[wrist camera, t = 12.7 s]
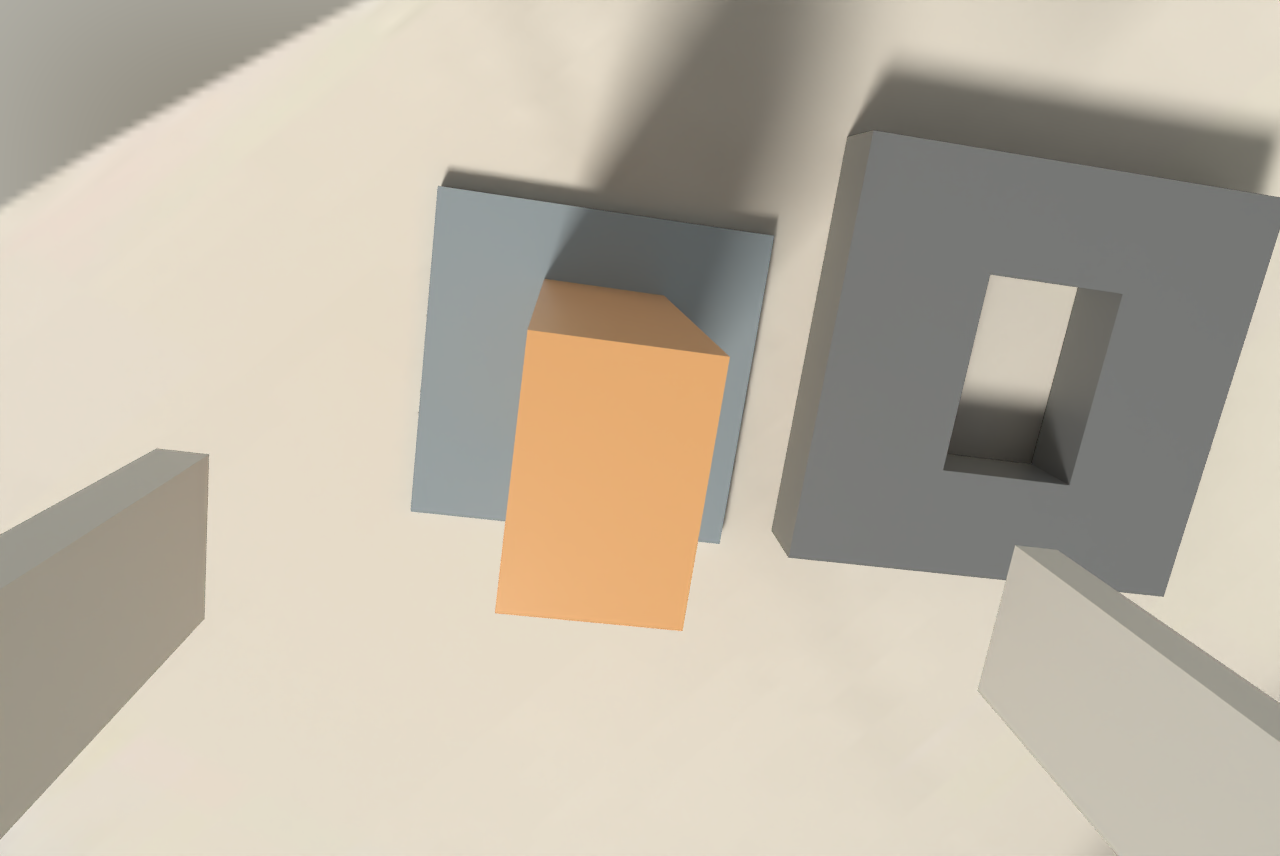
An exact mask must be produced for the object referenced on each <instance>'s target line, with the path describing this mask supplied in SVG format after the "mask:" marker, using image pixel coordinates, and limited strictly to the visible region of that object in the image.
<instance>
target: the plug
mask: <svg viewBox="0 0 1280 856" xmlns="http://www.w3.org/2000/svg"><path fill="white" fill-rule="evenodd" d="M729 359H730V356H728V355H727V354H726V353H725V352H724V351H723V350H722V349H721V348H720V347H719V346H718V345H717V344H716V343H715V342H713V341H712V340H711V339H710V338H709V337H708V336H707V335H706V334H705V333H704V332H703V331H702V330H701V329H699V328H698V327H697V326H696V325H695V324H694V323H693V322H692V321H691V320H690V319H689V318H688V317H687V316H685V315H684V314H683V313H682V312H681V311H680V310H679V309H678V308H677V307H676V306H675V305H674V304H673V303H671V302H670V301H669V300H668V299H667V298H666V297H665V296H664V295H657V294H650V293H642V292H635V291H628V290H621V289H614V288H607V287H600V286H593V285H586V284H579V283H571V282H564V281H557V280H550V279H544V281H543V284H542V287H541V290H540V293H539V296H538V299H537V302H536V305H535V308H534V311H533V314H532V318H531V321H530V324H529V327H528V330H527V338H526V347H525V356H524V364H523V373H522V382H521V390H520V399H519V408H518V416H517V425H516V434H515V443H514V451H513V460H512V469H511V477H510V486H509V495H508V504H507V512H506V521H505V530H504V538H503V547H502V556H501V565H500V573H499V582H498V591H497V599H496V608H495V613H499V614H509V615H520V616H530V617H541V618H551V619H562V620H572V621H583V622H593V623H604V624H614V625H625V626H636V627H646V628H657V629H667V630H678V631H682V630H683V624H684V619H685V613H686V607H687V601H688V596H689V590H690V584H691V578H692V573H693V567H694V561H695V555H696V550H697V544H698V538H699V532H700V526H701V521H702V515H703V509H704V503H705V498H706V492H707V486H708V480H709V475H710V469H711V463H712V457H713V452H714V446H715V440H716V434H717V428H718V423H719V417H720V411H721V405H722V400H723V394H724V388H725V382H726V377H727V371H728V365H729Z"/></svg>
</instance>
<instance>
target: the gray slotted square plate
mask: <svg viewBox="0 0 1280 856" xmlns="http://www.w3.org/2000/svg"><path fill="white" fill-rule="evenodd" d="M1279 230H1280V197H1274V196H1268V195H1262V194H1256V193H1250V192H1244V191H1238V190H1232V189H1226V188H1220V187H1214V186H1208V185H1202V184H1196V183H1190V182H1184V181H1178V180H1172V179H1166V178H1160V177H1153V176H1147V175H1141V174H1135V173H1129V172H1123V171H1117V170H1111V169H1105V168H1099V167H1093V166H1087V165H1081V164H1075V163H1069V162H1063V161H1057V160H1051V159H1045V158H1039V157H1033V156H1027V155H1021V154H1015V153H1009V152H1002V151H996V150H990V149H984V148H978V147H972V146H966V145H960V144H954V143H948V142H942V141H936V140H930V139H924V138H918V137H912V136H906V135H900V134H894V133H888V132H882V131H876V130H872V131H868V132H864V133H860V134H856V135H852V136H848V137H847V142H846V147H845V152H844V157H843V163H842V168H841V173H840V178H839V183H838V189H837V194H836V199H835V204H834V209H833V215H832V220H831V225H830V230H829V235H828V240H827V246H826V251H825V256H824V261H823V266H822V272H821V277H820V282H819V287H818V292H817V298H816V303H815V308H814V313H813V318H812V324H811V329H810V334H809V339H808V344H807V350H806V355H805V360H804V365H803V370H802V375H801V381H800V386H799V391H798V396H797V401H796V407H795V412H794V417H793V422H792V427H791V433H790V438H789V443H788V448H787V453H786V459H785V464H784V469H783V474H782V479H781V485H780V490H779V495H778V500H777V505H776V510H775V516H774V521H773V526H772V532H773V534H774V535H775V537H776V538H777V540H778V542H779V543H780V545H781V546H782V548H783V550H784V551H785V553H786V554H787V556H788V558H798V559H808V560H817V561H827V562H836V563H846V564H856V565H865V566H875V567H884V568H894V569H903V570H913V571H923V572H932V573H942V574H951V575H961V576H971V577H980V578H990V579H999V580H1006V579H1007V575H1008V571H1009V567H1010V563H1011V559H1012V556H1013V552H1014V548H1015V545H1017V546H1026V547H1035V548H1044V549H1053V550H1058V551H1060V552H1061V553H1063V554H1064V555H1065V556H1067V557H1068V558H1070V559H1071V560H1073V561H1074V562H1076V563H1077V564H1078V565H1080V566H1081V567H1083V568H1084V569H1086V570H1087V571H1089V572H1090V573H1092V574H1093V575H1094V576H1096V577H1097V578H1099V579H1100V580H1102V581H1103V582H1105V583H1106V584H1107V585H1109V586H1110V587H1112V588H1113V589H1115V590H1116V591H1118V592H1124V593H1134V594H1143V595H1153V596H1162V597H1164V593H1165V590H1166V587H1167V584H1168V581H1169V578H1170V574H1171V571H1172V568H1173V565H1174V562H1175V559H1176V555H1177V552H1178V549H1179V546H1180V543H1181V540H1182V536H1183V533H1184V530H1185V527H1186V524H1187V521H1188V518H1189V514H1190V511H1191V508H1192V505H1193V502H1194V499H1195V495H1196V492H1197V489H1198V486H1199V483H1200V480H1201V476H1202V473H1203V470H1204V467H1205V464H1206V461H1207V458H1208V454H1209V451H1210V448H1211V445H1212V442H1213V439H1214V435H1215V432H1216V429H1217V426H1218V423H1219V420H1220V416H1221V413H1222V410H1223V407H1224V404H1225V401H1226V398H1227V394H1228V391H1229V388H1230V385H1231V382H1232V379H1233V375H1234V372H1235V369H1236V366H1237V363H1238V360H1239V356H1240V353H1241V350H1242V347H1243V344H1244V341H1245V338H1246V334H1247V331H1248V328H1249V325H1250V322H1251V319H1252V315H1253V312H1254V309H1255V306H1256V303H1257V300H1258V296H1259V293H1260V290H1261V287H1262V284H1263V281H1264V278H1265V274H1266V271H1267V268H1268V265H1269V262H1270V259H1271V255H1272V252H1273V249H1274V246H1275V243H1276V240H1277V236H1278V233H1279ZM990 274H991V275H998V276H1005V277H1011V278H1018V279H1025V280H1032V281H1039V282H1045V283H1052V284H1059V285H1066V286H1072V287H1078V290H1077V294H1076V298H1075V301H1074V305H1073V309H1072V313H1071V316H1070V320H1069V324H1068V328H1067V331H1066V335H1065V339H1064V343H1063V347H1062V350H1061V354H1060V358H1059V362H1058V365H1057V369H1056V373H1055V377H1054V380H1053V384H1052V388H1051V392H1050V396H1049V399H1048V403H1047V407H1046V411H1045V414H1044V418H1043V422H1042V426H1041V429H1040V433H1039V437H1038V441H1037V445H1036V448H1035V452H1034V456H1033V460H1032V463H1031V464H1026V463H1018V462H1010V461H1001V460H993V459H985V458H977V457H968V456H960V455H952V454H947V452H948V448H949V443H950V439H951V435H952V431H953V427H954V423H955V418H956V414H957V410H958V406H959V402H960V398H961V393H962V389H963V385H964V381H965V377H966V372H967V368H968V364H969V360H970V356H971V352H972V347H973V343H974V339H975V335H976V331H977V327H978V322H979V318H980V314H981V310H982V306H983V302H984V297H985V293H986V289H987V285H988V281H989V277H990Z"/></svg>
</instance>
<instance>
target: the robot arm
mask: <svg viewBox="0 0 1280 856" xmlns="http://www.w3.org/2000/svg"><path fill="white" fill-rule="evenodd" d="M208 471H209V454H201V453H192V452H183V451H174V450H165V449H155V450H153V451H151V452H149V453H148V454H146V455H144V456H142V457H140V458H139V459H137V460H135V461H133V462H131V463H129V464H128V465H126V466H124V467H122V468H120V469H119V470H117V471H115V472H113V473H111V474H109V475H108V476H106V477H104V478H102V479H100V480H99V481H97V482H95V483H93V484H91V485H90V486H88V487H86V488H84V489H82V490H80V491H79V492H77V493H75V494H73V495H71V496H70V497H68V498H66V499H64V500H62V501H61V502H59V503H57V504H55V505H53V506H51V507H50V508H48V509H46V510H44V511H42V512H41V513H39V514H37V515H35V516H33V517H32V518H30V519H28V520H26V521H24V522H22V523H21V524H19V525H17V526H15V527H13V528H12V529H10V530H8V531H6V532H4V533H2V534H1V535H0V839H1V838H2V837H3V836H4V835H5V834H6V833H7V832H8V830H9V829H10V828H11V827H12V826H13V825H14V824H15V823H16V822H17V821H18V820H19V819H20V817H21V816H22V815H23V814H24V813H25V812H26V811H27V810H28V809H29V808H30V807H31V806H32V804H33V803H34V802H35V801H36V800H37V799H38V798H39V797H40V796H41V795H42V794H43V793H44V792H45V790H46V789H47V788H48V787H49V786H50V785H51V784H52V783H53V782H54V781H55V780H56V779H57V777H58V776H59V775H60V774H61V773H62V772H63V771H64V770H65V769H66V768H67V767H68V766H69V764H70V763H71V762H72V761H73V760H74V759H75V758H76V757H77V756H78V755H79V754H80V753H81V752H82V750H83V749H84V748H85V747H86V746H87V745H88V744H89V743H90V742H91V741H92V740H93V739H94V737H95V736H96V735H97V734H98V733H99V732H100V731H101V730H102V729H103V728H104V727H105V726H106V724H107V723H108V722H109V721H110V720H111V719H112V718H113V717H114V716H115V715H116V714H117V713H118V712H119V710H120V709H121V708H122V707H123V706H124V705H125V704H126V703H127V702H128V701H129V700H130V699H131V697H132V696H133V695H134V694H135V693H136V692H137V691H138V690H139V689H140V688H141V687H142V686H143V684H144V683H145V682H146V681H147V680H148V679H149V678H150V677H151V676H152V675H153V674H154V673H155V672H156V670H157V669H158V668H159V667H160V666H161V665H162V664H163V663H164V662H165V661H166V660H167V659H168V657H169V656H170V655H171V654H172V653H173V652H174V651H175V650H176V649H177V648H178V647H179V646H180V644H181V643H182V642H183V641H184V640H185V639H186V638H187V637H188V636H189V635H190V634H191V633H192V632H193V630H194V629H195V628H196V627H197V626H198V625H199V624H200V623H201V622H202V621H203V620H204V616H205V579H206V543H207V507H208ZM977 691H978V692H979V693H980V694H981V695H982V697H983V698H984V699H985V700H986V701H987V703H988V704H989V705H990V706H991V707H992V708H993V710H994V711H995V712H996V713H997V714H998V715H999V717H1000V718H1001V719H1002V720H1003V721H1004V723H1005V724H1006V725H1007V726H1008V727H1009V728H1010V730H1011V731H1012V732H1013V733H1014V734H1015V735H1016V737H1017V738H1018V739H1019V740H1020V741H1021V743H1022V744H1023V745H1024V746H1025V747H1026V748H1027V750H1028V751H1029V752H1030V753H1031V754H1032V755H1033V757H1034V758H1035V759H1036V760H1037V761H1038V763H1039V764H1040V765H1041V766H1042V767H1043V768H1044V770H1045V771H1046V772H1047V773H1048V774H1049V775H1050V777H1051V778H1052V779H1053V780H1054V781H1055V783H1056V784H1057V785H1058V786H1059V787H1060V788H1061V790H1062V791H1063V792H1064V793H1065V794H1066V795H1067V797H1068V798H1069V799H1070V800H1071V801H1072V803H1073V804H1074V805H1075V806H1076V807H1077V808H1078V810H1079V811H1080V812H1081V813H1082V814H1083V815H1084V817H1085V818H1086V819H1087V820H1088V821H1089V823H1090V824H1091V825H1092V826H1093V827H1094V828H1095V830H1096V831H1097V832H1098V833H1099V834H1100V835H1101V837H1102V838H1103V839H1104V840H1105V841H1106V843H1107V844H1108V845H1109V846H1110V847H1111V848H1112V850H1113V851H1114V852H1115V853H1116V854H1117V855H1118V856H1280V703H1279V702H1277V701H1276V700H1274V699H1273V698H1271V697H1270V696H1269V695H1267V694H1266V693H1264V692H1263V691H1261V690H1260V689H1258V688H1257V687H1255V686H1254V685H1253V684H1251V683H1250V682H1248V681H1247V680H1245V679H1244V678H1242V677H1241V676H1240V675H1238V674H1237V673H1235V672H1234V671H1232V670H1231V669H1229V668H1228V667H1226V666H1225V665H1224V664H1222V663H1221V662H1219V661H1218V660H1216V659H1215V658H1213V657H1212V656H1211V655H1209V654H1208V653H1206V652H1205V651H1203V650H1202V649H1200V648H1199V647H1197V646H1196V645H1195V644H1193V643H1192V642H1190V641H1189V640H1187V639H1186V638H1184V637H1183V636H1181V635H1180V634H1179V633H1177V632H1176V631H1174V630H1173V629H1171V628H1170V627H1168V626H1167V625H1166V624H1164V623H1163V622H1161V621H1160V620H1158V619H1157V618H1155V617H1154V616H1152V615H1151V614H1150V613H1148V612H1147V611H1145V610H1144V609H1142V608H1141V607H1139V606H1138V605H1137V604H1135V603H1134V602H1132V601H1131V600H1129V599H1128V598H1126V597H1125V596H1123V595H1122V594H1121V593H1119V592H1118V591H1116V590H1115V589H1113V588H1112V587H1110V586H1109V585H1107V584H1106V583H1105V582H1103V581H1102V580H1100V579H1099V578H1097V577H1096V576H1094V575H1093V574H1092V573H1090V572H1089V571H1087V570H1086V569H1084V568H1083V567H1081V566H1080V565H1078V564H1077V563H1076V562H1074V561H1073V560H1071V559H1070V558H1068V557H1067V556H1065V555H1064V554H1063V553H1061V552H1060V551H1058V550H1053V549H1044V548H1035V547H1026V546H1017V545H1015V548H1014V552H1013V556H1012V559H1011V563H1010V567H1009V571H1008V575H1007V579H1006V582H1005V586H1004V590H1003V594H1002V598H1001V602H1000V606H999V609H998V613H997V617H996V621H995V625H994V629H993V633H992V636H991V640H990V644H989V648H988V652H987V656H986V659H985V663H984V667H983V671H982V675H981V679H980V683H979V686H978V690H977Z"/></svg>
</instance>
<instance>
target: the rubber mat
mask: <svg viewBox="0 0 1280 856" xmlns="http://www.w3.org/2000/svg"><path fill="white" fill-rule="evenodd" d="M773 240H774V236H772V235H765V234H759V233H752V232H745V231H738V230H732V229H725V228H718V227H712V226H705V225H698V224H691V223H685V222H678V221H671V220H664V219H658V218H651V217H644V216H637V215H631V214H624V213H617V212H611V211H604V210H597V209H590V208H584V207H577V206H570V205H563V204H557V203H550V202H543V201H537V200H530V199H523V198H516V197H510V196H503V195H496V194H489V193H483V192H476V191H469V190H463V189H456V188H449V187H442V186H438V190H437V202H436V214H435V226H434V238H433V250H432V262H431V274H430V286H429V298H428V310H427V322H426V334H425V346H424V358H423V370H422V382H421V394H420V406H419V418H418V430H417V442H416V453H415V465H414V477H413V489H412V501H411V511H412V512H422V513H431V514H441V515H450V516H460V517H469V518H479V519H488V520H498V521H506V512H507V504H508V495H509V486H510V477H511V469H512V460H513V451H514V443H515V434H516V425H517V416H518V408H519V399H520V390H521V382H522V373H523V364H524V356H525V347H526V338H527V330H528V327H529V324H530V321H531V318H532V314H533V311H534V308H535V305H536V302H537V299H538V296H539V293H540V290H541V287H542V284H543V281H544V279H550V280H557V281H564V282H571V283H579V284H586V285H593V286H600V287H607V288H614V289H621V290H628V291H635V292H642V293H650V294H657V295H664V296H665V297H666V298H667V299H668V300H669V301H670V302H671V303H673V304H674V305H675V306H676V307H677V308H678V309H679V310H680V311H681V312H682V313H683V314H684V315H685V316H687V317H688V318H689V319H690V320H691V321H692V322H693V323H694V324H695V325H696V326H697V327H698V328H699V329H701V330H702V331H703V332H704V333H705V334H706V335H707V336H708V337H709V338H710V339H711V340H712V341H713V342H715V343H716V344H717V345H718V346H719V347H720V348H721V349H722V350H723V351H724V352H725V353H726V354H727V355H728V356H730V359H729V365H728V371H727V377H726V382H725V388H724V394H723V400H722V405H721V411H720V417H719V423H718V428H717V434H716V440H715V446H714V452H713V457H712V463H711V469H710V475H709V480H708V486H707V492H706V498H705V503H704V509H703V515H702V521H701V526H700V532H699V538H698V542H707V543H716V544H720V538H721V532H722V527H723V521H724V516H725V510H726V504H727V499H728V493H729V487H730V482H731V476H732V471H733V465H734V459H735V454H736V448H737V442H738V437H739V431H740V426H741V420H742V414H743V409H744V403H745V397H746V392H747V386H748V380H749V375H750V369H751V364H752V358H753V352H754V347H755V341H756V335H757V330H758V324H759V319H760V313H761V307H762V302H763V296H764V290H765V285H766V279H767V274H768V268H769V262H770V257H771V251H772V245H773Z"/></svg>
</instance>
